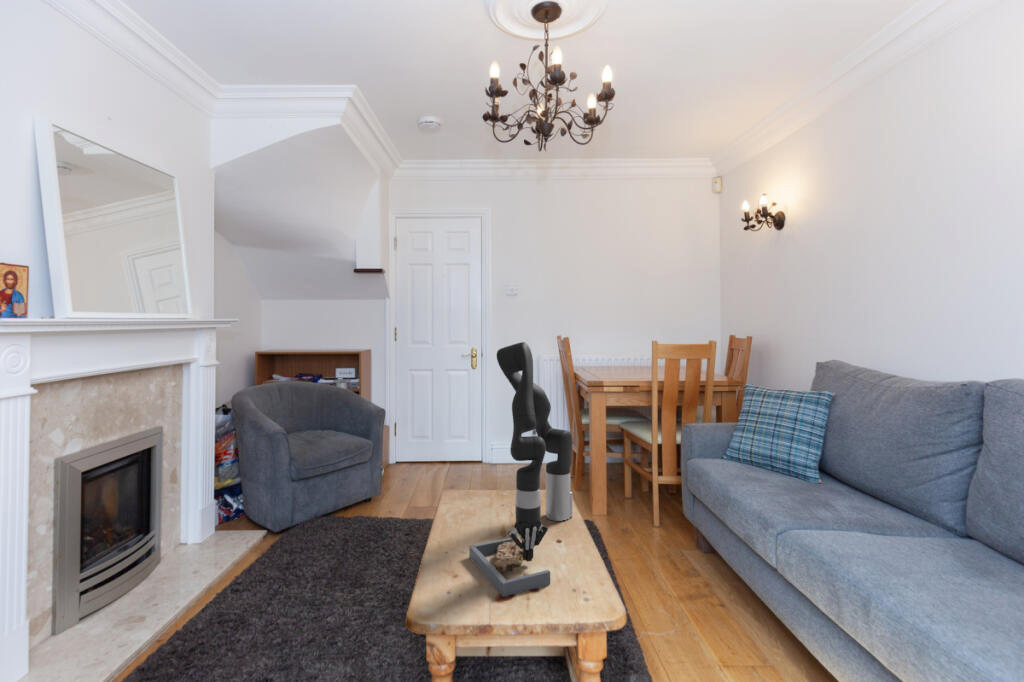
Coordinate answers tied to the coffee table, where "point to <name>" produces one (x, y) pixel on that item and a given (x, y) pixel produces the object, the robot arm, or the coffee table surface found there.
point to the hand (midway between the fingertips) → (527, 560)
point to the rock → (508, 556)
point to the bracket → (497, 579)
